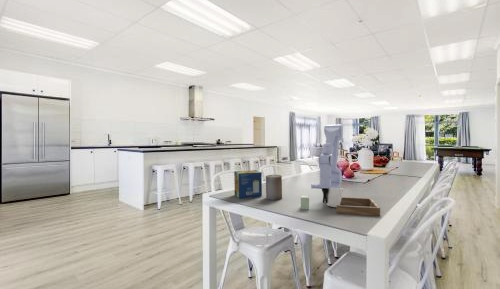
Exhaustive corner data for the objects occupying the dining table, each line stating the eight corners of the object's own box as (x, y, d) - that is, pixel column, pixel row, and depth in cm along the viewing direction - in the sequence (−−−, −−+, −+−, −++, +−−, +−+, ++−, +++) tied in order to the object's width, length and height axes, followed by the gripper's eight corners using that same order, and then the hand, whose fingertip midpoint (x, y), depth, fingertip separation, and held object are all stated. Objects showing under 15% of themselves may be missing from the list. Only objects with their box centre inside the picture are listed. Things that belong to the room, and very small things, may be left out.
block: (301, 206, 131) (301, 195, 131) (309, 207, 130) (308, 195, 130) (300, 209, 127) (300, 197, 127) (308, 209, 126) (308, 197, 126)
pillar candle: (281, 196, 155) (281, 172, 155) (282, 200, 146) (281, 174, 145) (266, 196, 156) (265, 172, 156) (265, 200, 146) (265, 174, 146)
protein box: (234, 195, 161) (233, 171, 160) (256, 193, 165) (256, 170, 165) (238, 198, 151) (238, 173, 150) (262, 196, 155) (262, 171, 155)
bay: (333, 203, 138) (333, 196, 138) (370, 204, 133) (370, 198, 133) (336, 213, 120) (336, 205, 120) (380, 215, 115) (380, 208, 115)
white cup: (339, 204, 135) (341, 186, 134) (342, 208, 127) (345, 189, 127) (324, 202, 136) (326, 184, 136) (326, 206, 128) (329, 187, 128)
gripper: (311, 177, 130) (310, 203, 130) (340, 178, 126) (340, 205, 126) (311, 175, 137) (311, 200, 137) (339, 177, 133) (339, 202, 133)
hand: (325, 202), depth 132 cm, fingers closed, pressing on white cup
